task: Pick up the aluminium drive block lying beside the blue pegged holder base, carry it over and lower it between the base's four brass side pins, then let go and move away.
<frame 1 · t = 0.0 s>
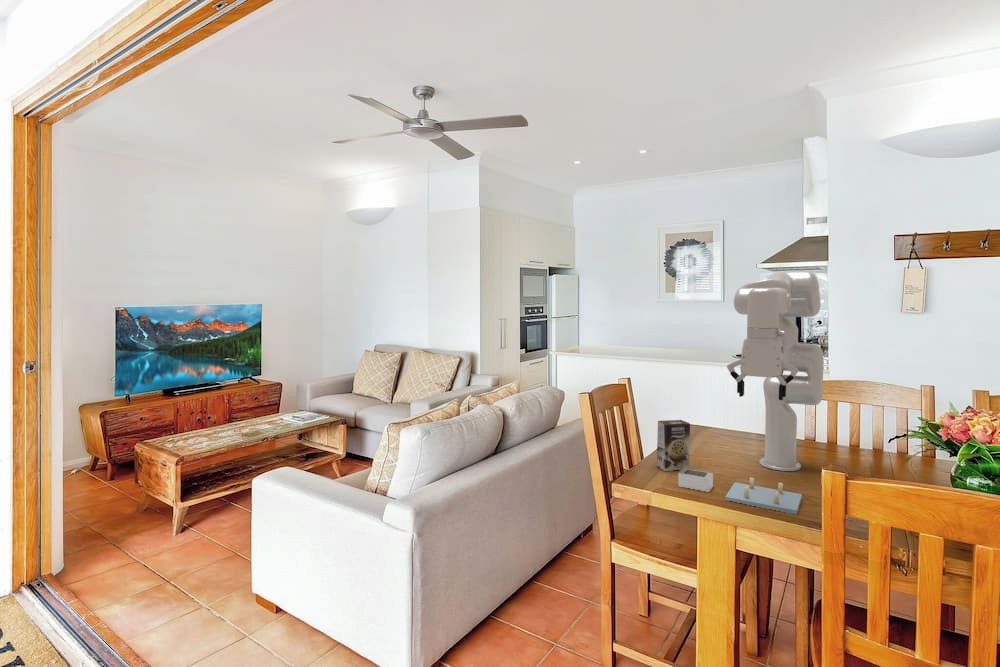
hand: (760, 397, 142), 31 cm above the table, tool pointing down, fingers open, 9 cm apart
cookie box: (673, 468, 180), on the table
blue pegged holder base: (763, 499, 151), on the table
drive: (695, 487, 162), on the table
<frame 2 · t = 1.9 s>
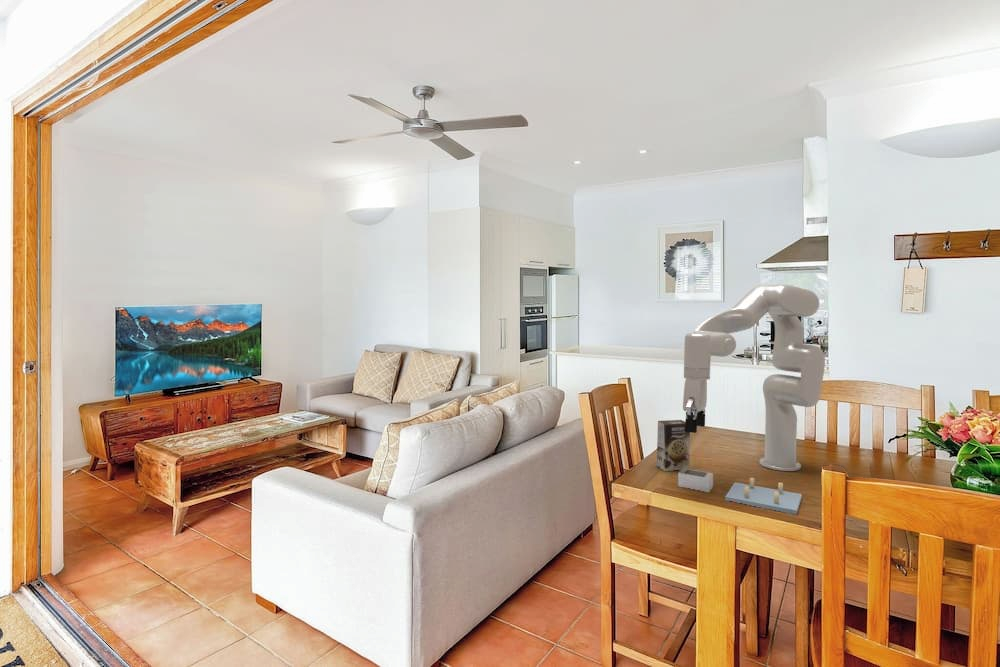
hand: (695, 428, 160), 18 cm above the table, tool pointing down, fingers open, 9 cm apart
nothing on the table moved.
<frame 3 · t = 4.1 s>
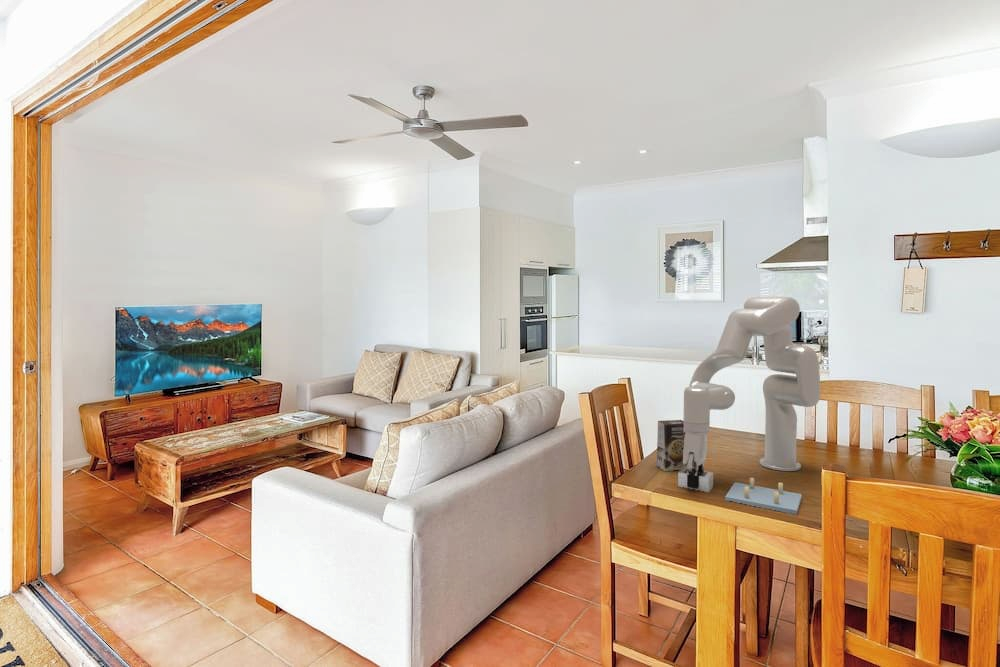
hand: (695, 484, 162), 1 cm above the table, tool pointing down, fingers closed on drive, 5 cm apart
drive: (695, 486, 162), on the table, touching gripper
everything else where it was.
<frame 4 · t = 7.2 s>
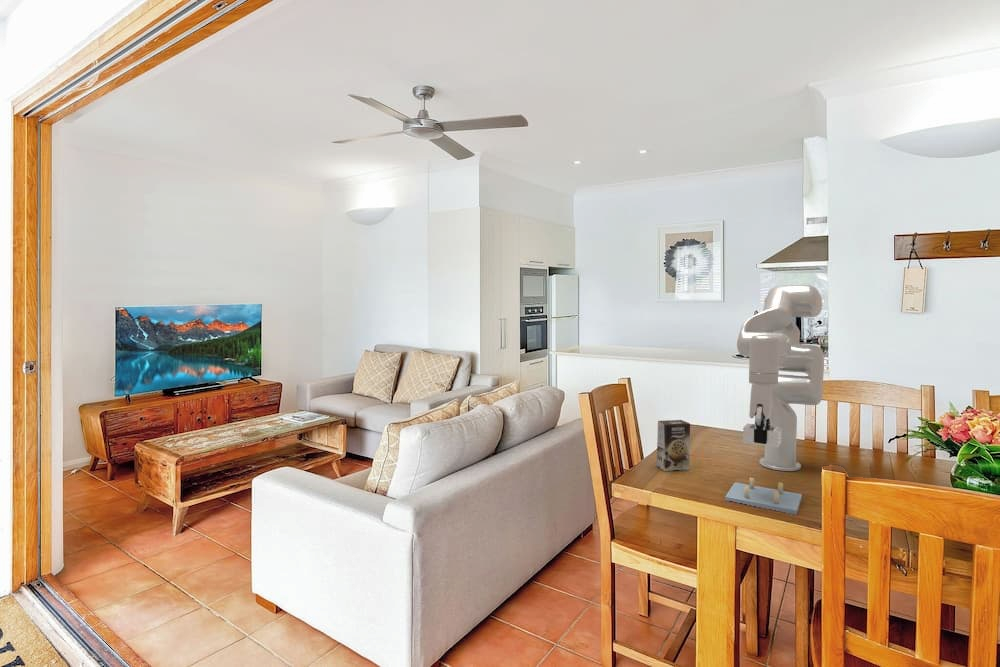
hand: (762, 439, 150), 17 cm above the table, tool pointing down, fingers closed on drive, 5 cm apart
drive: (762, 442, 150), point 16 cm above the table, touching gripper
everything else where it was.
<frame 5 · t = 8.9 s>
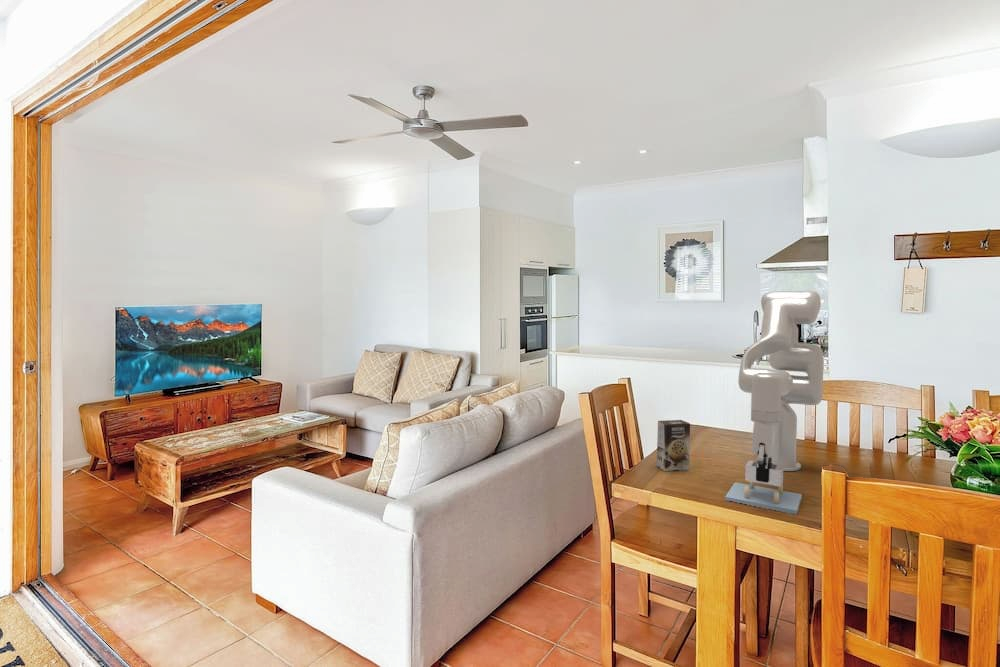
hand: (764, 477, 151), 6 cm above the table, tool pointing down, fingers closed on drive, 5 cm apart
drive: (764, 480, 151), point 6 cm above the table, touching gripper
everything else where it was.
when the fingers open (3 cm above the table, at t = 10.3 s): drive drops 1 cm, resting on blue pegged holder base.
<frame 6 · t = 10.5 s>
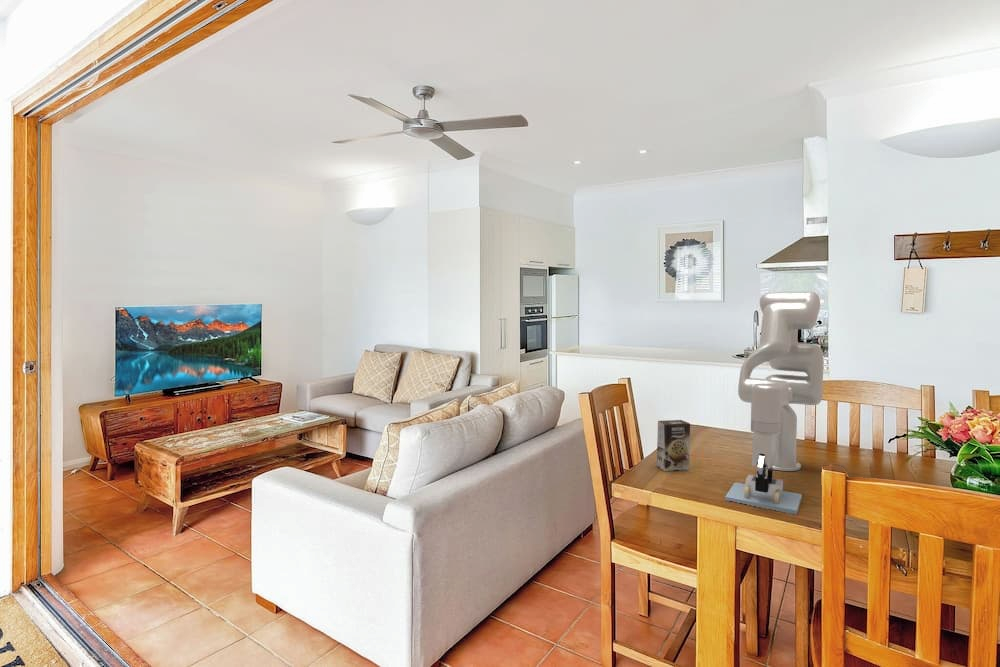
hand: (763, 486, 151), 4 cm above the table, tool pointing down, fingers open, 7 cm apart
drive: (763, 495, 151), point 1 cm above the table, touching blue pegged holder base
everything else where it was.
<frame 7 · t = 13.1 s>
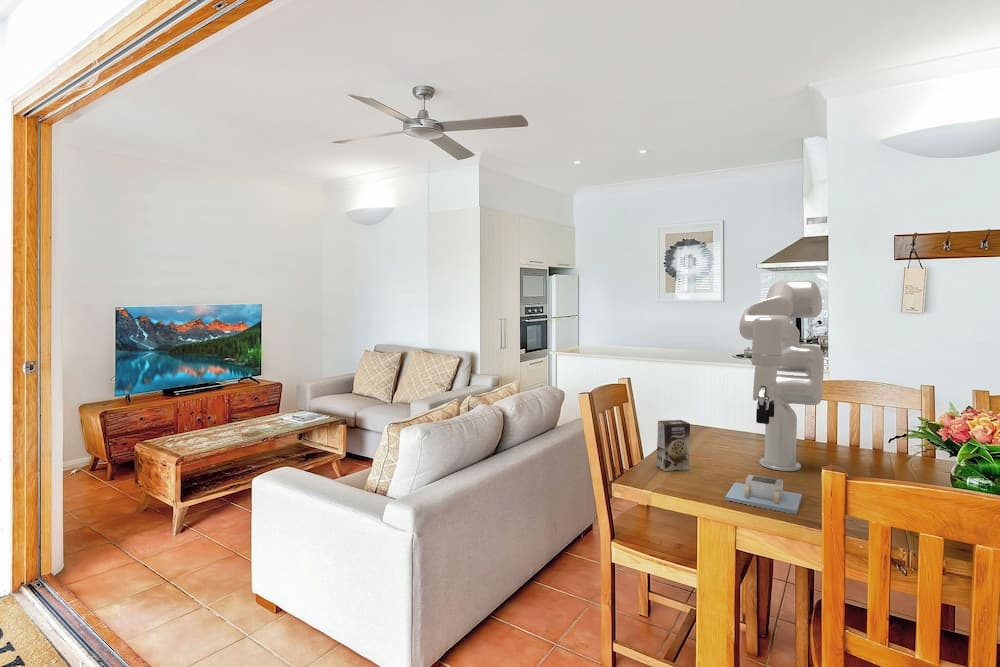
hand: (765, 419, 150), 23 cm above the table, tool pointing down, fingers open, 9 cm apart
nothing on the table moved.
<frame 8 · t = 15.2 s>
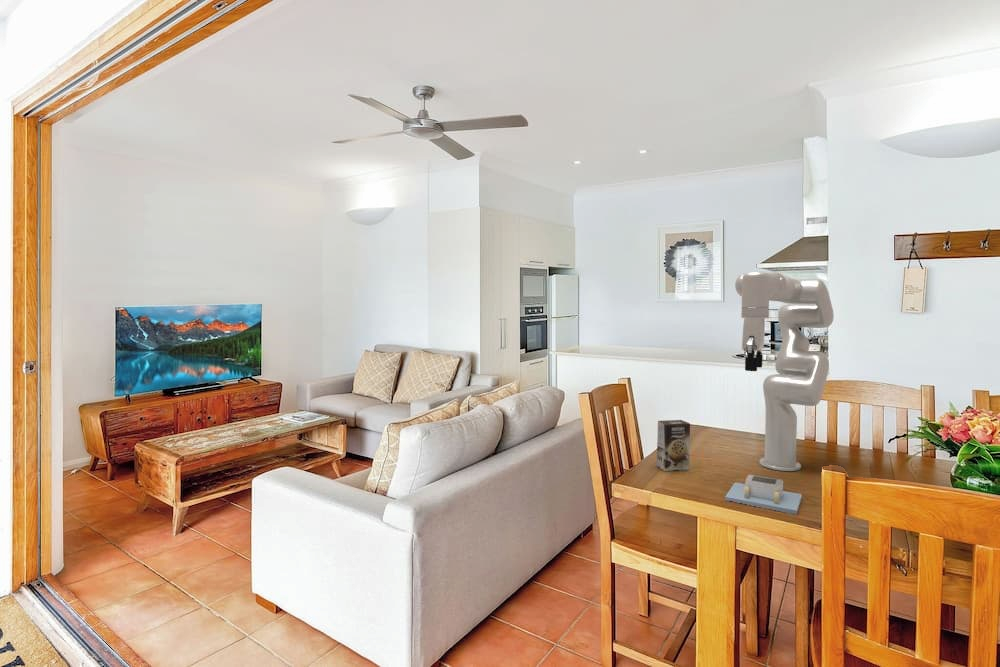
hand: (753, 368, 160), 36 cm above the table, tool pointing down, fingers open, 9 cm apart
nothing on the table moved.
at the end: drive 0.1 cm off-centre on the blue pegged holder base, point 1.2 cm above the blue pegged holder base's base; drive tilted 0°; the gripper is holding nothing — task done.
